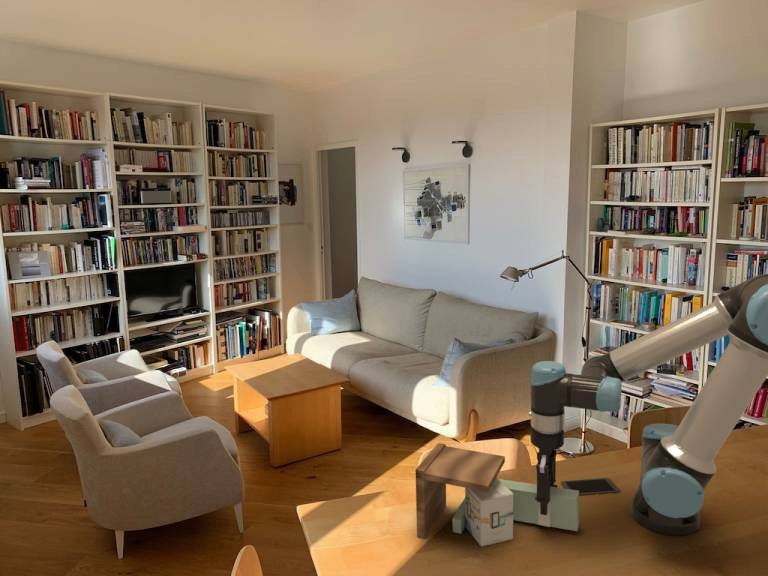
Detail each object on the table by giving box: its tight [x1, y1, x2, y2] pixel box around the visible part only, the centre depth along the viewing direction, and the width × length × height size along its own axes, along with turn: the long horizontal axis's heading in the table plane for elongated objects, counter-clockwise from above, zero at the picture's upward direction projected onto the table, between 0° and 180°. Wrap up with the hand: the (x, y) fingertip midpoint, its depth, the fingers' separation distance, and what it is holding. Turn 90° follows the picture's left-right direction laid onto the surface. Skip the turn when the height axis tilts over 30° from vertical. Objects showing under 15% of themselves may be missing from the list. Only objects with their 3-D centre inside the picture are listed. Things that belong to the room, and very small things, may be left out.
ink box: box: [464, 477, 514, 547], centre depth 137 cm, size 8×8×12 cm
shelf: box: [415, 442, 506, 540], centre depth 138 cm, size 17×15×17 cm
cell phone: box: [560, 477, 621, 497], centre depth 156 cm, size 7×14×1 cm, turn 95°
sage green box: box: [451, 478, 581, 535], centre depth 138 cm, size 27×14×8 cm, turn 65°
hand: (546, 519), depth 140 cm, fingers closed on sage green box, 4 cm apart
